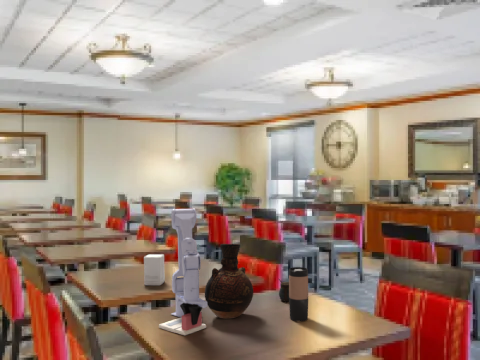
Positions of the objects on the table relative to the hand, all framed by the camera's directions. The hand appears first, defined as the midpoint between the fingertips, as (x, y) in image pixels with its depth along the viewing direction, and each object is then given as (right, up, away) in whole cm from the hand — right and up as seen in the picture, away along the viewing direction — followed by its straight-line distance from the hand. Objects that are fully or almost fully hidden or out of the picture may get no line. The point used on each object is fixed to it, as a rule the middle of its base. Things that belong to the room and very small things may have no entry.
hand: (191, 323), depth 173 cm
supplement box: (-28, -2, +76) cm, 81 cm away
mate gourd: (+39, -2, +40) cm, 56 cm away
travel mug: (+42, -2, +13) cm, 44 cm away
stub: (0, -3, 0) cm, 3 cm away
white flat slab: (-6, -3, +5) cm, 8 cm away
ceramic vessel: (+14, -3, +17) cm, 22 cm away
